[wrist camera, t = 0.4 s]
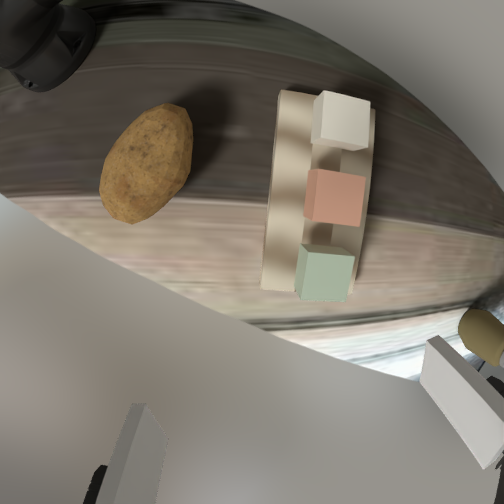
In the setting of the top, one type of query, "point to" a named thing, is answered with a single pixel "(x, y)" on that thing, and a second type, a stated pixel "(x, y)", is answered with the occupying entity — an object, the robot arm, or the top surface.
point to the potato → (147, 164)
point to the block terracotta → (334, 197)
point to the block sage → (323, 273)
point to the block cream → (340, 121)
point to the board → (294, 191)
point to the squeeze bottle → (483, 335)
